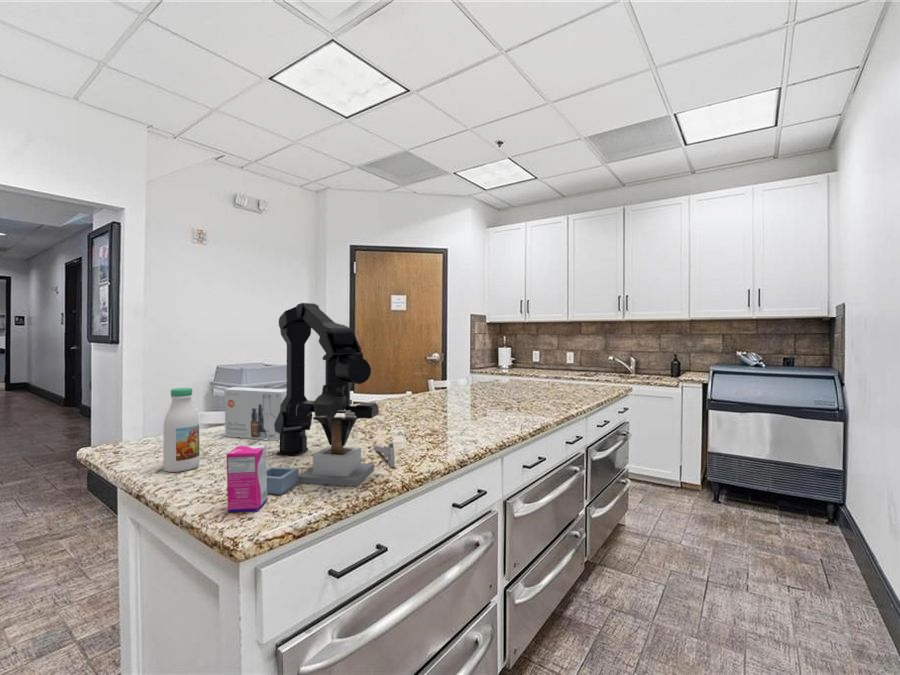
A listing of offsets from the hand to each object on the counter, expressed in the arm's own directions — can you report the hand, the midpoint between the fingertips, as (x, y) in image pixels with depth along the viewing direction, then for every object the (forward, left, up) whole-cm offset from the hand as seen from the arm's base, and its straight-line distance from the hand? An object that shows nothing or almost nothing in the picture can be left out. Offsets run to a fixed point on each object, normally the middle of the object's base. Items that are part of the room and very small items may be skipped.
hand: (337, 445), depth 104 cm
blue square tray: (-10, -10, -7) cm, 16 cm away
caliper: (+6, +17, -8) cm, 20 cm away
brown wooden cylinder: (0, 0, -4) cm, 4 cm away
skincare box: (-41, +31, -8) cm, 52 cm away
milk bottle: (-41, -1, -8) cm, 42 cm away
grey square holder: (0, 0, -7) cm, 7 cm away
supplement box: (-10, -20, -8) cm, 24 cm away
